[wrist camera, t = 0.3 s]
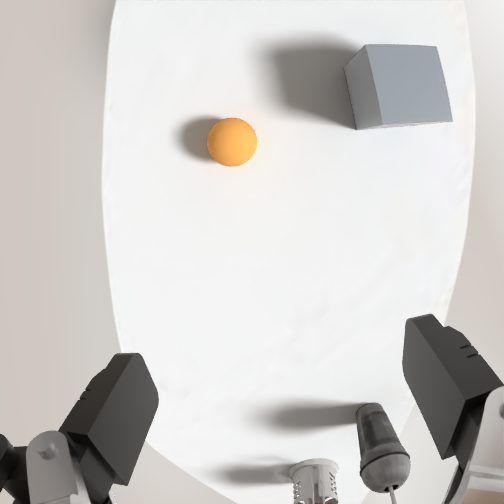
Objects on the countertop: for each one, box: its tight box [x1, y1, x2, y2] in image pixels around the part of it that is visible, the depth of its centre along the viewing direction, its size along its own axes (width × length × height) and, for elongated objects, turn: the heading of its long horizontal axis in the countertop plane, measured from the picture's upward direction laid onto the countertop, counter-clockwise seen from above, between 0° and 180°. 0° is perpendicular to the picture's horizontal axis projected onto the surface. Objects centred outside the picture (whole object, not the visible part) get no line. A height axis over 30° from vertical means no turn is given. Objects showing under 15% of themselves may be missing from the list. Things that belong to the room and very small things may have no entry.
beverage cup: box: [356, 403, 410, 504], centre depth 35 cm, size 7×7×20 cm
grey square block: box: [344, 44, 453, 130], centre depth 26 cm, size 7×7×9 cm
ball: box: [207, 118, 257, 166], centre depth 31 cm, size 5×5×5 cm
